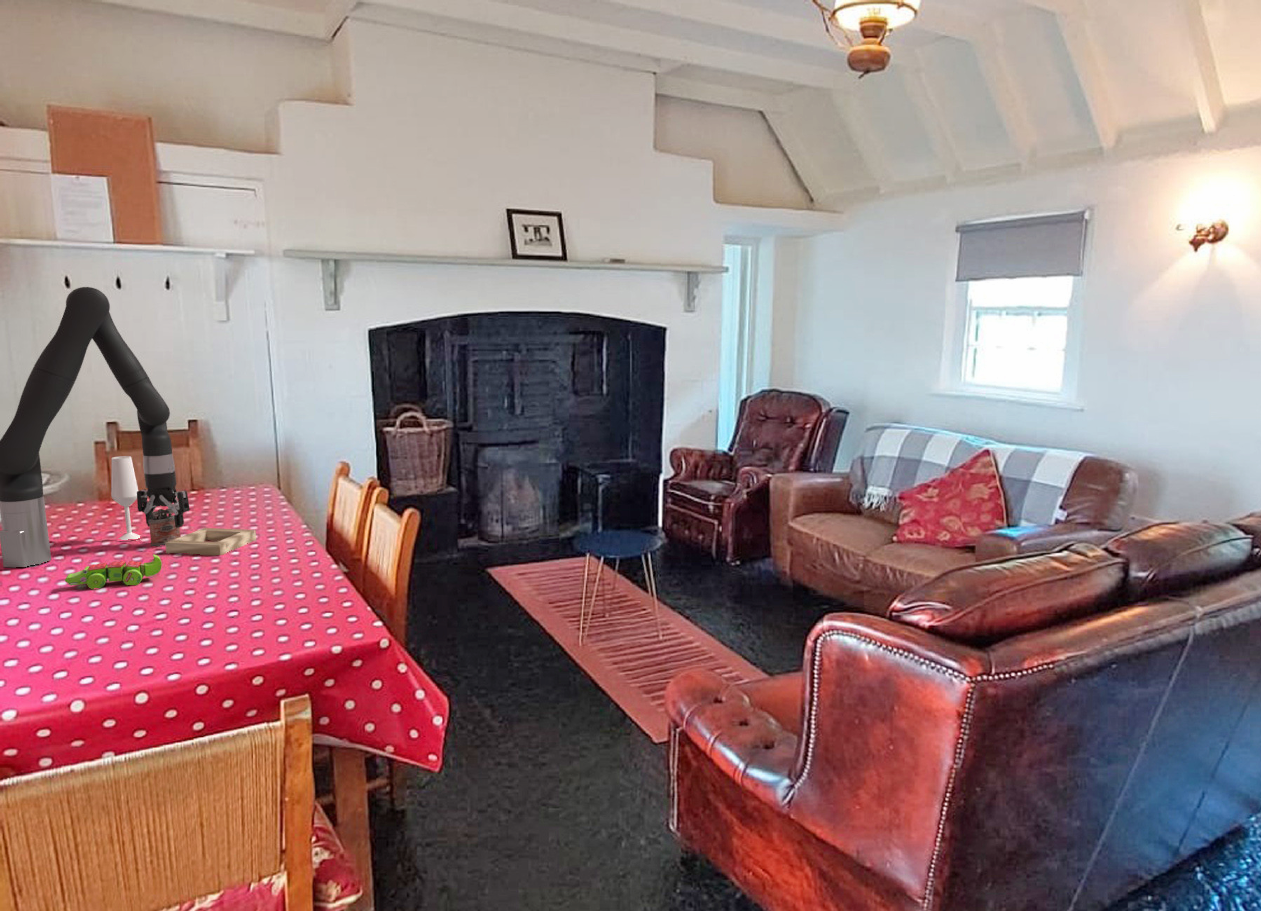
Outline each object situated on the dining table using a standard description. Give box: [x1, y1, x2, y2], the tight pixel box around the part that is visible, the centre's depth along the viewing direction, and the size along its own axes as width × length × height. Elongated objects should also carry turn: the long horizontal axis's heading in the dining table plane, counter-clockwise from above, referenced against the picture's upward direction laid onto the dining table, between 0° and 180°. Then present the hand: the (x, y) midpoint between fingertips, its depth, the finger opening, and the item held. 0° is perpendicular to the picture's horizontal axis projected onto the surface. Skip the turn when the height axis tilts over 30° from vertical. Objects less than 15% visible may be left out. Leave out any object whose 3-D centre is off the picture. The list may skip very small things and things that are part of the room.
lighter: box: [148, 508, 182, 547], centre depth 223 cm, size 8×3×10 cm, turn 143°
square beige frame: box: [164, 527, 257, 556], centre depth 221 cm, size 16×16×3 cm
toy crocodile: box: [64, 554, 163, 590], centre depth 189 cm, size 20×7×6 cm, turn 111°
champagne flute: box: [110, 455, 141, 540], centre depth 227 cm, size 7×7×24 cm
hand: (165, 526), depth 224 cm, fingers open, 8 cm apart
